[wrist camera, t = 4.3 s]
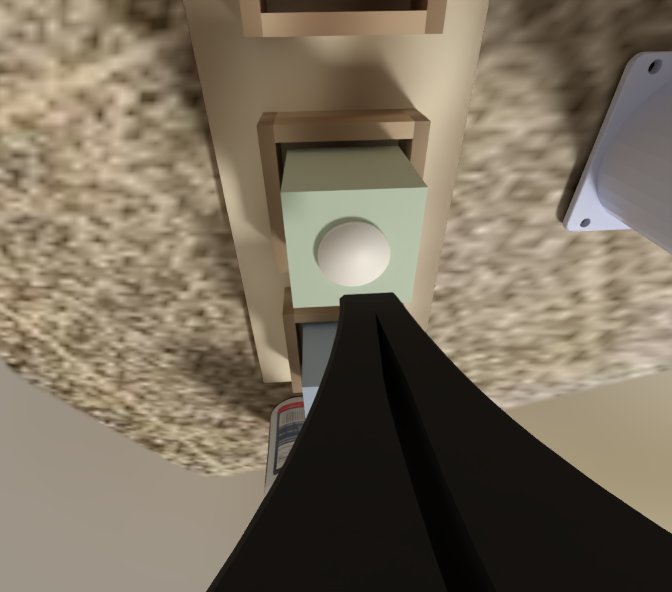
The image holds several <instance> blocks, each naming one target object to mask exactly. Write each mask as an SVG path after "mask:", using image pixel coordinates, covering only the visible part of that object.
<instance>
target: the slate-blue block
mask: <svg viewBox="0 0 672 592" xmlns="http://www.w3.org/2000/svg"><path fill="white" fill-rule="evenodd" d="M337 326H338V321H325V322H305V323H303V364H302V391H303V400H304V409H305V418H306V417H307V415H308V413H309V410H310V408H311V406H312V403H313V401H314V398H315V396H316V393H317V391H318V388H319V386H320V383H321V380H322V377H323V374H324V372H325V369H326V366H327V363H328V360H329V357H330V354H331V350H332V346H333V343H334V339H335V335H336V331H337Z"/></svg>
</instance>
